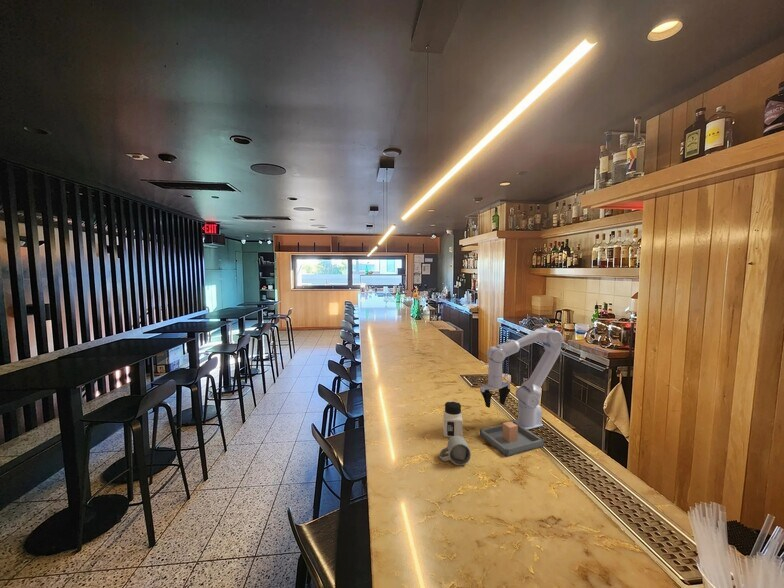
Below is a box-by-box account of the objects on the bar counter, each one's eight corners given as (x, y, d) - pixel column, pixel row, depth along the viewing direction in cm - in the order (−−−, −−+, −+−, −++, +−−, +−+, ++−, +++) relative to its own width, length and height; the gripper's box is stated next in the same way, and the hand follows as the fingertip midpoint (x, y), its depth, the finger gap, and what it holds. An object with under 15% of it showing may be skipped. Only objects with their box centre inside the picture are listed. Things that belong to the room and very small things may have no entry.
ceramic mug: (466, 452, 117) (465, 432, 116) (471, 465, 109) (470, 444, 108) (438, 452, 117) (437, 433, 117) (440, 466, 109) (440, 445, 109)
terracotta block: (510, 435, 127) (510, 421, 127) (517, 440, 123) (517, 425, 123) (502, 437, 126) (502, 423, 125) (509, 442, 122) (509, 427, 122)
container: (462, 438, 126) (462, 407, 126) (443, 436, 128) (443, 406, 127) (462, 429, 134) (462, 399, 133) (443, 427, 136) (443, 398, 135)
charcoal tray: (514, 427, 135) (514, 421, 135) (544, 446, 120) (544, 440, 120) (479, 435, 129) (479, 429, 128) (506, 456, 114) (506, 450, 113)
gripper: (502, 370, 141) (502, 399, 142) (475, 374, 136) (475, 404, 137) (513, 374, 134) (513, 405, 135) (485, 379, 129) (485, 411, 130)
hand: (495, 405), depth 135 cm, fingers open, 7 cm apart
